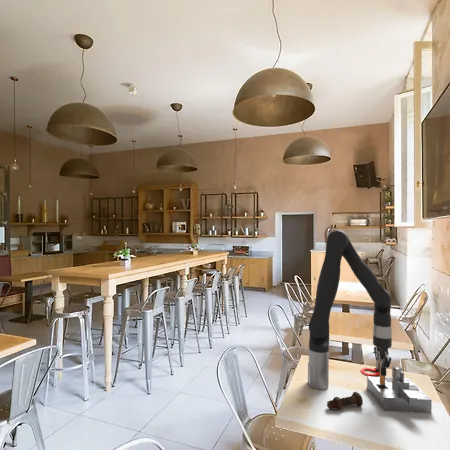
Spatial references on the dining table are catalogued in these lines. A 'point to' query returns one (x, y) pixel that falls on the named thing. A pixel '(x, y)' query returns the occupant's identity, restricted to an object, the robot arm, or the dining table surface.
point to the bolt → (345, 401)
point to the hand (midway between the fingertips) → (382, 373)
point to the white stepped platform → (399, 393)
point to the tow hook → (371, 370)
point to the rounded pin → (382, 378)
